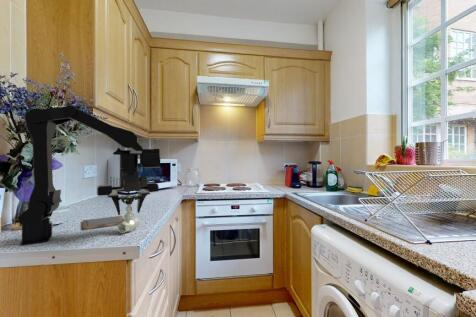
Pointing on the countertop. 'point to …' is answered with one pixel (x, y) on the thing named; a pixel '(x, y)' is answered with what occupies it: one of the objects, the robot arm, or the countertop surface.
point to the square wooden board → (102, 222)
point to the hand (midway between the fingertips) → (128, 213)
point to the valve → (128, 215)
